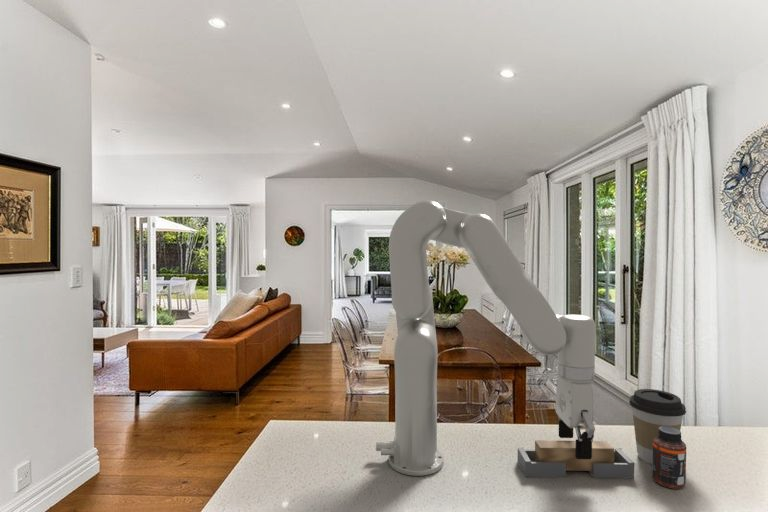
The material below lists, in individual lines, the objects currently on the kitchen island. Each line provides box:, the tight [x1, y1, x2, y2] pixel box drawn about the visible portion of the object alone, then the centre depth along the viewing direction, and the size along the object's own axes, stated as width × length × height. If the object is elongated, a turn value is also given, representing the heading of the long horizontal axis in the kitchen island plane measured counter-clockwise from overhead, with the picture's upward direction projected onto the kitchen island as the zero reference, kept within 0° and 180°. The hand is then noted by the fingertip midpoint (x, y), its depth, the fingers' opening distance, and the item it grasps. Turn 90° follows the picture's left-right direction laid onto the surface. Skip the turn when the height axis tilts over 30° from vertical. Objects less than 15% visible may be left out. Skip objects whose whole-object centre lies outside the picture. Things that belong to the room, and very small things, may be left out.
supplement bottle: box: [651, 426, 687, 490], centre depth 93 cm, size 6×6×11 cm
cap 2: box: [588, 448, 636, 479], centre depth 98 cm, size 9×6×3 cm
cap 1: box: [517, 447, 567, 478], centre depth 99 cm, size 9×6×3 cm
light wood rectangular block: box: [534, 439, 615, 472], centre depth 99 cm, size 16×4×5 cm, turn 88°
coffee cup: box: [628, 388, 687, 465], centre depth 103 cm, size 11×11×15 cm
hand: (574, 447), depth 99 cm, fingers open, 9 cm apart
